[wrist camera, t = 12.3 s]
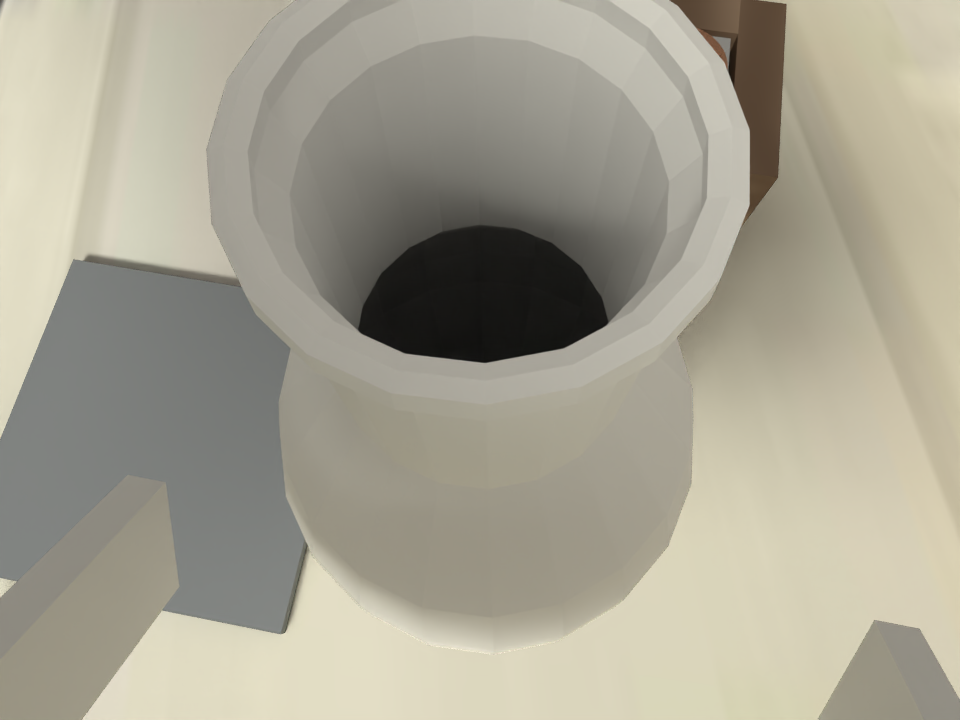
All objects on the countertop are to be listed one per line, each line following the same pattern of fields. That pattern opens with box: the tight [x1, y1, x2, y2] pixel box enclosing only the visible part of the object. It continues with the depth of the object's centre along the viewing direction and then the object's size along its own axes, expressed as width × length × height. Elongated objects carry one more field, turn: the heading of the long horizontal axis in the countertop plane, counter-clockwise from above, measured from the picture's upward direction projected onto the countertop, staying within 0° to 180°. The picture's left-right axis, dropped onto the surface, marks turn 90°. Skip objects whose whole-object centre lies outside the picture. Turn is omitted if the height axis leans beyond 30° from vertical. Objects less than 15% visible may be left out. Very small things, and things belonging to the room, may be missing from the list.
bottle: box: [206, 0, 750, 655], centre depth 17 cm, size 11×11×25 cm
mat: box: [0, 259, 307, 634], centre depth 30 cm, size 15×15×1 cm
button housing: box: [670, 0, 786, 227], centre depth 31 cm, size 9×9×7 cm
